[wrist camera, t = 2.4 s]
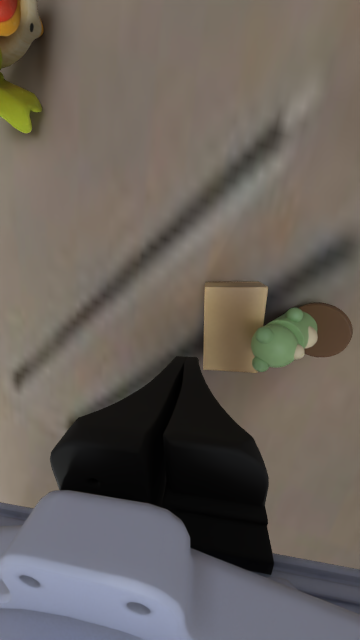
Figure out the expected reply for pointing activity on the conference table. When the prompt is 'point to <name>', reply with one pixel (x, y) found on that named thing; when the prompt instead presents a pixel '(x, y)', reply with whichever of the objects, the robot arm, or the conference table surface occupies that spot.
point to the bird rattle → (7, 48)
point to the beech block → (232, 324)
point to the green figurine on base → (301, 336)
